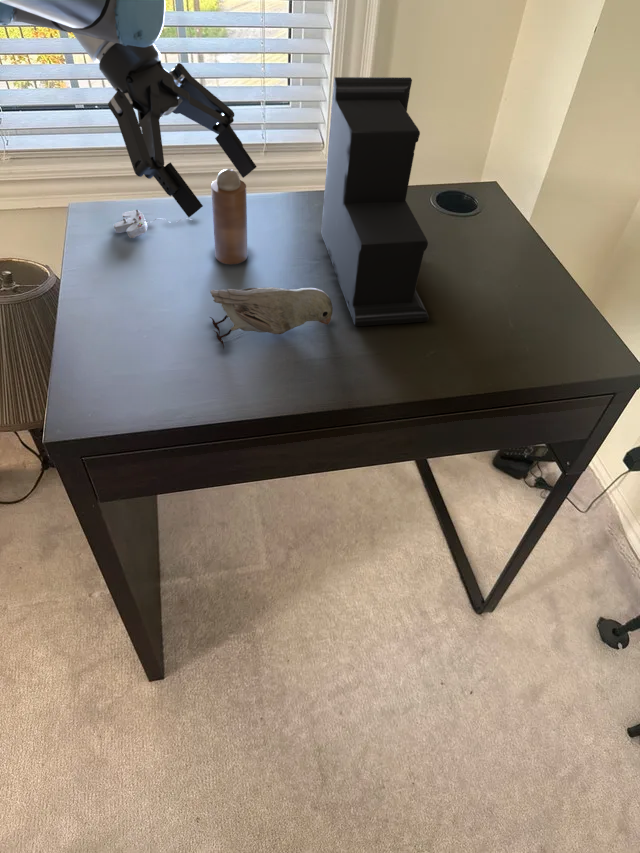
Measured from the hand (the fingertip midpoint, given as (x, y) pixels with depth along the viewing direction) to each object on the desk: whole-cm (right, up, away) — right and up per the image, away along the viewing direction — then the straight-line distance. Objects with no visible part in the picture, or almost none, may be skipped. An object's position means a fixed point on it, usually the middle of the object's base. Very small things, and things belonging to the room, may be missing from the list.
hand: (224, 191), depth 89 cm
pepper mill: (0, -7, +7) cm, 10 cm away
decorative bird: (+7, -20, -4) cm, 22 cm away
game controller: (-13, -2, +11) cm, 17 cm away
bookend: (+21, -10, +6) cm, 24 cm away
